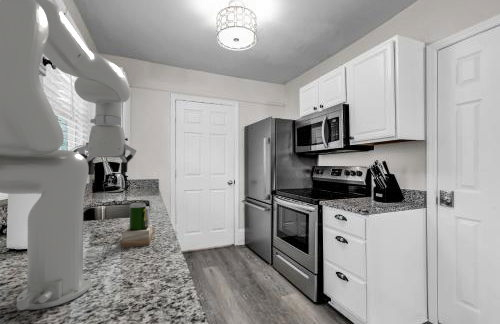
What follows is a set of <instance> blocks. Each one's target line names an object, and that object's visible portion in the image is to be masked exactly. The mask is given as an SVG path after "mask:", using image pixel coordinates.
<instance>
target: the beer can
mask: <svg viewBox="0 0 500 324" xmlns="http://www.w3.org/2000/svg"><path fill="white" fill-rule="evenodd" d="M146 206H147V205H146V202H132V203H130V204H129V226H130V231H138V230H146Z"/></svg>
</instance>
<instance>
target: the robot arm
mask: <svg viewBox="0 0 500 324" xmlns="http://www.w3.org/2000/svg"><path fill="white" fill-rule="evenodd" d="M43 55H44V56H45V57H46V59H48V60H49V61H50V62H51V63H52V64H53V65H54V66H55V67H56V69H58V70H59V71H60V72H63V74H64V73H65V74H67V75H70V76H72V77H76V79H75V81H74V82H73V83H74V91H75V92H76V95H77V96H78V97H79V98H80V99H82V100H83V101H85V102H88V103H92V104H95V115H94V118H90V122H89V123H90V124H94V125H92V126H91V127H90V128H91V129H90V131H89V136H88V144H86V145H83V146H81V147H79V148H77V150H76V151H77V152H76V151H72V150H66V149H60V148H61V147H62V146H63V143H64V139H65V138H64V132H63V130H62V129H63V128H62V127H61V124H60V122H59V120H58V118H57V116H56V113H55V112H54V110H53V107H52V106H51V103H50V101H49V99H48V97H47V95H46V93H45V91H44V88H43V86H42V83H41V79H40V66H41V62H42V57H43ZM130 97H131V88H130V85H129V82H128V80H127V78H126V76H125V75H124V73H123V71H122V69H120V68H119V67H118V66H117V65H116V64H115V63H114V62H112V61H110V60H109V59H107V58H105V57H104V56H103V55H102V56H101V55H100V54H99V53H96V52H94V51H92V50H90V49H89V48H88V47H87V46H86V44H85V42H84V41H83V40H82V38H81V37H80V35H79V34H78V33H77V31H76V29H75V28H74V27H73V25H72V24H71V23H70V21H69V20H68V18H67V16H65V14H64V13H63V12H62V10H61V9H60V7H59V6H57V5H56V4H55V3H54V2H52V1H51V0H0V193H1V194H8V195H9V194H10V195H13V194H14V195H21V194H22V195H25V194H26V195H28V194H32V195H33V194H37V195H39V194H40V197H39V199H38V200H36V202H35V203H34V204H33V206H32V207H31V209H30V210H29V212H28V216H27V252H26V253H27V263H26V265H27V266H26V269H27V270H26V276H27V278H26V280H27V281H26V282H27V284H26V289H25V290H23V291H21V293H19V294H18V295H17V297H16V306H15V307H16V308H17V310H19V311H24V310H29V311H30V310H31V311H33V310H41V309H47V308H51V307H52V308H53V307H55V306H56V307H57V306H59V305H63V304H65V303H68V302H70V301H72V300H75V299H76V298H78V297H80V296H82V295H83V294H85V293H86V292H88V290H89V289H90V288H91V284H92V283H91V281H92V279H91V278H90V277H89V276H87V275H84V272H83V271H84V270H83V269H84V268H83V267H84V266H83V265H84V263H83V262H84V202H85V201H84V199H85V193H86V187H87V182H88V177H89V175H90V176H92V175H95V163H94V161H95V159H97V158H119V159H120V160H121V163H120V175H122V176H123V175H126V173H128V166H129V165H128V163H129V162H130V161H131V160H132V159H133V158H134V157H135V155H136V154H137V150H136V149H135V148H133V147H131V146H129V145H126V139H125V138H126V135H125V130H124V127H122V108H123V107H122V104H123V103H126V102H127V101H128V100H129V99H130ZM126 150H127V151H129V152H130V153H129V154H128V155H127V156H126V154H127V153H126ZM86 151H87V153H88V155H87V154H86Z"/></svg>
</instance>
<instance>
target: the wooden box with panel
mask: <svg viewBox="0 0 500 324" xmlns="http://www.w3.org/2000/svg"><path fill="white" fill-rule="evenodd" d="M155 230H156V229H155V227H153V224H150V206H149V205H148V206H147V205H146V230H138V231H130V225H128V226H126V227H125V229H123V231H122V232H121V241H120V248H131V247H132V248H133V247H134V248H135V247H144V246H145V247H146V246H150V245H151V242H152V239H153V238H154V235H155Z"/></svg>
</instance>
